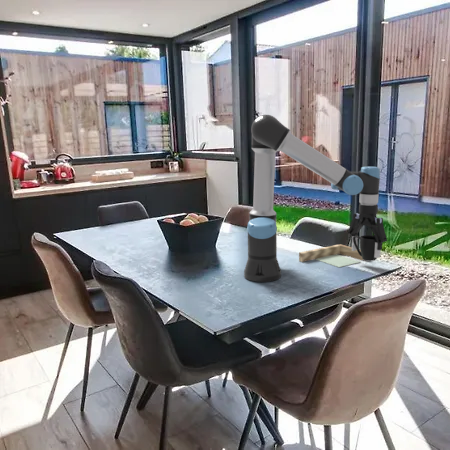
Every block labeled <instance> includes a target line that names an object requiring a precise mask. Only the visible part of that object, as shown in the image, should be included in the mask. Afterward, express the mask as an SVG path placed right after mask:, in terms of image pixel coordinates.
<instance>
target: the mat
mask: <svg viewBox="0 0 450 450" xmlns="http://www.w3.org/2000/svg"><path fill="white" fill-rule="evenodd" d="M314 260H315V261H318V262H321V263H324V264H327V265H330V266H333V267H336V268H343V267H348V266H351V265H356V264H360V263H361V261H359V260H357V259H356V260H355V259H354V258H353V259H352V258H351V257H346V256H344V255H343V256H342V255H341V254H335V255H331V256H326V257H322V258H317V259H314Z"/></svg>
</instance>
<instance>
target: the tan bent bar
mask: <svg viewBox="0 0 450 450" xmlns="http://www.w3.org/2000/svg"><path fill="white" fill-rule="evenodd" d="M359 250H360V248H359ZM360 252H361V250H360ZM335 254H337V255H343V256H345V257H346V256H347V257H349V256H351V257H350V258H353V259H356V260H358V261H359V260H360V261H362V260H363V261H365V260H364V259H362V256H360V255H359V253H358V251H357V250H355V251H352V246H348V245H344V244H341V243H340V244H334V245H330V246H324V247H321V248H320V247H319V248H315V249H314V248H313V249H309V250H306V251H305V250H304V251H300V252H298V261H299V262H301V263H304V262H308V261H312V260H315V259H317V258H322V257H326V256H331V255H335Z"/></svg>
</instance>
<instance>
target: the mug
mask: <svg viewBox="0 0 450 450" xmlns="http://www.w3.org/2000/svg"><path fill="white" fill-rule="evenodd" d="M356 237H357V238H358V240H359V246H360V247H359V246H357V243H356V240H355V238H356ZM379 240H380V239H379ZM353 242H354V245H355V247H356V249H357V251H358V253H359V255H360V256H362V259H364V260H363V261H368V262H369V261H370V262H373V261H376V260H377V258H375V257H374V253H375V242H377V241H376V238H375V236H374V234H373V235H371V234H370V235H368V234H367V235H366V234H365V235H364V234H363V235H360V236H359V235H356V236H354V237H353ZM359 249H360V250H361V252H360V250H359Z"/></svg>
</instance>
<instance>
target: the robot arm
mask: <svg viewBox="0 0 450 450" xmlns="http://www.w3.org/2000/svg"><path fill="white" fill-rule="evenodd" d="M250 131H251V150H252V151H253V152H254V166H253V167H254V171H253V172H254V173H253V174H254V175H253V197H252V198H253V202H252V204H253V205H252V209H251V210H250V211H249V216H248V217H249V218H248V219H249V220H248V222H247V227H246V231H247V261H246V264H245V267H244V271H243V277H244V278H245V279H246V280H248V281H250V282H257V283H267V282H274V281H277V280H279V279H280V278H281V277H282V271H281V268H280V263H279V262H278V261H279V260H278V257H277V251H278V250H277V247H278V246H277V244H278V243H277V239H278V238H277V234H278V233H277V231H278V227H277V212H276V211H275V209H274V197H275V196H274V195H275V192H274V191H275V174H276V172H275V171H276V169H275V168H276V153H277V152H282V153H284V154H285V155H286V156H287V157H290V158H291V159H293V160H294V161H296V162H297V163H299V164H301V165H302V166H304V167H305V168H306V169H308V170H310V171H311V172H313V173H315V174H316V175H318V176H320V177H321V178H323V179H324V180H326V181H327V182H329V183H330V187H331V190H334V191H336V190H337V191H343V192H344V193H345V194H347V195H350V196H355V195H358V194H359V197H358V198H359V201H358V202H359V205H358V212H356V213H353V215H352V216H353V217H352V221H351V223H350V225H349V228H348V230H347V234H350V236H351V237H350V238H351V239H350V242H351V247H352V251H355V250H357V249H356V247H355V245H354V242H353V237H354V236H359V235H358V233H359V232H360V231H361V229H362V228H363V227H364V226H367V227H368V228H369V229H370V230H371V232H372V234H373V236H375V238H376V241H377V242H375V253H374V257H375V258H376V259H377V258H381V251H382V249H383V243H385V242H388V238H387V235H386V231H385V227H384V218H383V217H377V214H378V210H379V209H378V208H379V205H378V203H379V191H380V180H381V170H380V168H379V167H378V166H362V167H360V170H359V171H351V170H348V169H347V168H346V167H343V166H342V165H341V164H339V163H337V162H336V161H335V160H333V159H331V158H330V157H328V156H327V155H325V154H323V153H322V152H320V151H319V150H317V149H315V148H314V147H313V146H311V145H309V144H308V143H306V142H304V140H301V139H300V138H299V137H297V136H296V135H294V134H293V133H292V131H291V129H289V128H288V127H286V126H285V125H284V124H283V123H282V122H281V121H280V120H278V118H276V117H275V116H273V115H271V114H262V115H259V116H258V117H257V118H255V119H254V120H253V122H252V124H251V130H250ZM379 239H380V240H379ZM355 240H356V243H357V246H358V245H359V238H357V237H356V238H355ZM358 247H359V246H358Z"/></svg>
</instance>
